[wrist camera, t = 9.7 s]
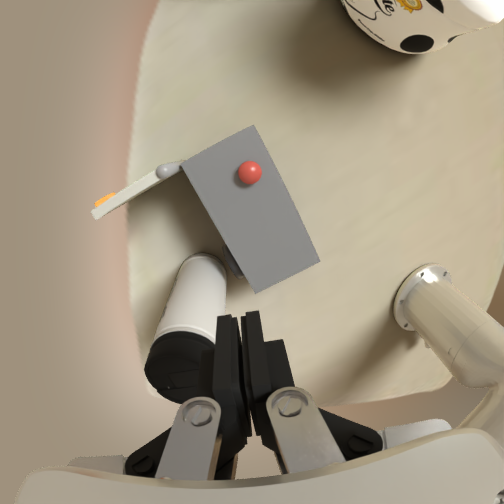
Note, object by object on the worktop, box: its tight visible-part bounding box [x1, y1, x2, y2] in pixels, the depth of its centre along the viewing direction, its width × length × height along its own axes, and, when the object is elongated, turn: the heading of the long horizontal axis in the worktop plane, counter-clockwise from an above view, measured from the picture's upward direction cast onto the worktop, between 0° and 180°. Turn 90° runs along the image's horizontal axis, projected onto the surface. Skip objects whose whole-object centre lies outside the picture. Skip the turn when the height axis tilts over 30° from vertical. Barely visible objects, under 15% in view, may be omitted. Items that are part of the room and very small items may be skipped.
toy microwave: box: [181, 125, 320, 294], centre depth 31 cm, size 16×9×7 cm, turn 27°
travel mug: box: [144, 253, 227, 404], centre depth 28 cm, size 6×7×20 cm
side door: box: [91, 160, 186, 220], centre depth 27 cm, size 9×2×10 cm, turn 115°
